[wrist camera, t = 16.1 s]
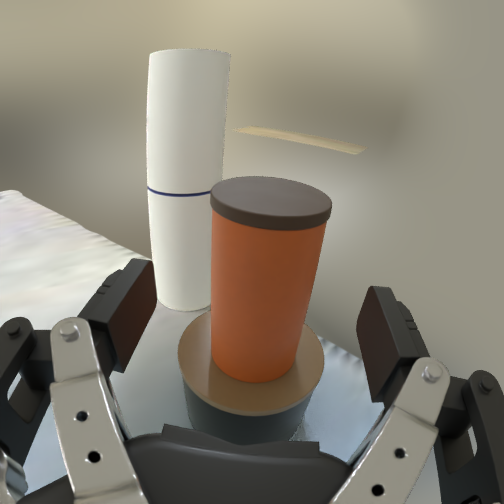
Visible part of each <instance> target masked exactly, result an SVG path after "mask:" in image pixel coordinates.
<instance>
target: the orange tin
mask: <svg viewBox="0 0 504 504" xmlns="http://www.w3.org/2000/svg"><path fill="white" fill-rule="evenodd" d="M210 204H211V207H212V235H211V353H212V357H213V360H214V362H215V363H216V365H217V366H218V367H219V368H220V369H221V370H222V371H223V372H224V373H225V374H227V375H228V376H230V377H232V378H234V379H237V380H240V381H243V382H249V383H263V382H268V381H272V380H275V379H277V378H279V377H281V376H282V375H284V374H285V373H286V372H287V371H288V370H289V369H290V368H291V366H292V365H293V362H294V359H295V356H296V352H297V348H298V345H299V341H300V337H301V333H302V329H303V325H304V321H305V317H306V313H307V309H308V304H309V301H310V297H311V293H312V288H313V284H314V280H315V275H316V270H317V266H318V262H319V257H320V252H321V247H322V243H323V238H324V233H325V228H326V223H327V220H328V219H329V217H330V214H331V209H332V201H331V199H330V198H329V197H328V196H327V195H326V194H325V193H323V192H322V191H320V190H318V189H316V188H314V187H312V186H309V185H306V184H303V183H300V182H296V181H292V180H287V179H282V178H275V177H263V176H262V177H261V176H247V177H236V178H231V179H227V180H223V181H220V182H218V183H216V184H215V185H214V186H213V187H212V189H211V191H210Z"/></svg>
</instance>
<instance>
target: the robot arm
mask: <svg viewBox="0 0 504 504" xmlns="http://www.w3.org/2000/svg"><path fill="white" fill-rule="evenodd" d="M156 304H157V289H156V281H155V272H154V264H153V262H152V261H150V260H143V259H135V258H133V259H131V260H130V262H129V263H128V264H127V265H126V267H125V268H124V269H123V270H120V269H119V270H117V271H116V272H114V273H112V274H111V275H109V276H108V277H107V278H106V280H105V281H104V282H103V283H102V286H100V287H99V289H98V290H97V291H96V293H95V294H94V295H93V296H92V298H91V299H90V300H89V301H88V303H87V304H86V305H85V307H84V308H83V309H82V311H81V312H80V313H79V315H78V316H77V317H70V318H66V319H63V320H61V321H59V322H58V323H57V324H56V325H55V326H54V327H53V328H52V330H34V329H33V327H32V325H31V323H30V321H29V320H28V319H27V318H24V317H16V318H12V319H10V320H8V321H7V322H5V323H4V324H3V325H2V327H1V328H0V504H404V503H405V502H406V500H407V498H408V496H409V495H410V493H411V491H412V489H413V487H414V485H415V483H416V481H417V479H418V478H419V475H420V473H421V471H422V469H423V467H424V465H425V463H426V461H427V459H428V456H429V454H430V452H431V450H432V447H434V453H435V458H436V464H437V470H438V477H439V485H440V493H441V502H442V504H504V395H503V392H502V390H501V387H500V385H499V383H498V381H497V380H496V378H495V377H494V376H493V375H492V374H490V373H489V372H487V371H483V370H477V371H475V372H474V373H473V374H472V375H471V376H470V378H469V379H468V380H466V379H461V378H457V377H452V376H450V374H449V371H448V369H447V368H446V367H445V365H444V364H443V363H441V362H440V361H438V360H437V359H434V358H431V357H430V355H429V353H428V351H427V348H426V346H425V344H424V341H423V339H422V337H421V335H420V332H419V331H418V330H417V326H416V324H415V322H414V319H413V317H412V315H411V313H410V311H409V310H408V309H407V308H406V306H405V305H403V304H402V302H399V301H396V299H395V296H394V294H393V292H392V290H391V288H389V287H379V286H370V287H369V289H368V291H367V294H366V297H365V300H364V302H363V305H362V308H361V311H360V314H359V316H358V320H357V326H356V332H357V337H358V340H359V344H360V349H361V353H362V358H363V362H364V367H365V371H366V376H367V380H368V385H369V390H370V395H371V400H372V403H374V402H383V403H384V407H385V408H384V409H383V410H382V412H381V413H380V415H379V417H378V418H377V420H376V421H375V423H374V424H373V426H372V428H371V429H370V431H369V432H368V434H367V435H366V437H365V438H364V440H363V441H362V443H361V444H360V446H359V447H358V448H357V450H356V451H355V452H354V454H353V455H352V456H351V457H350V459H349V460H348V461H347V462H344V461H342V460H341V459H339V458H337V457H335V456H333V455H330V454H327V453H324V452H320V451H319V442H311V441H284V440H281V441H274V442H267V443H260V444H252V445H237V444H234V443H231V442H228V441H225V440H223V439H220V438H217V437H215V436H212V435H210V434H207V433H205V432H202V431H198V430H193V429H187V428H182V427H177V426H173V425H168V424H164V426H163V430H162V433H151V434H145V435H140V436H137V437H134V438H132V436H131V434H130V432H129V430H128V428H127V425H126V423H125V421H124V418H123V415H122V413H121V410H120V407H119V405H118V402H117V399H116V396H115V393H114V390H113V387H112V384H111V381H110V379H109V377H110V375H111V373H112V371H117V372H120V373H124V371H125V369H126V367H127V365H128V363H129V361H130V359H131V357H132V354H133V352H134V350H135V348H136V346H137V344H138V342H139V340H140V338H141V336H142V334H143V332H144V330H145V328H146V326H147V324H148V322H149V320H150V318H151V316H152V314H153V312H154V310H155V308H156ZM18 372H19V374H20V375H21V379H20V381H19V383H18V384H17V386H16V388H15V390H14V392H13V393H12V395H11V397H10V399H9V401H8V398H7V393H8V389H9V387H10V386H11V384H12V382H13V380H14V379H15V377H16V375H17V374H18ZM50 402H51V403H52V409H53V415H54V420H55V425H56V430H57V435H58V439H59V443H60V448H61V452H62V456H63V459H64V463H65V467H66V470H67V473H68V474H67V475H65V476H63V477H62V478H60V479H58V480H56V481H54V482H52V483H50V484H48V485H46V486H44V487H42V488H40V489H38V490H36V491H34V492H32V493H30V494H28V495H26V496H25V493H26V492H27V490H28V484H27V482H26V478H25V473H24V470H23V465H24V463H25V460H26V457H27V455H28V452H29V450H30V447H31V445H32V443H33V440H34V438H35V435H36V433H37V431H38V428H39V426H40V424H41V422H42V419H43V417H44V415H45V413H46V411H47V409H48V406H49V404H50ZM471 426H472V427H473V431H474V434H475V438H476V442H477V452H476V455H475V456H474V454H473V450H472V446H471V441H470V437H469V434H468V429H469V428H470V427H471Z"/></svg>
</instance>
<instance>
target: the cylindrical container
mask: <svg viewBox="0 0 504 504" xmlns="http://www.w3.org/2000/svg"><path fill="white" fill-rule="evenodd" d="M230 58H231V55H230V54H229V53H226V52H221V51H217V50H208V49H170V50H162V51H157V52H154V53H151V54H150V59H149V74H148V93H147V182H148V183H147V184H148V206H149V223H150V235H151V248H152V258H153V264H154V272H155V281H156V289H157V298H158V300H159V301H160V302H161V303H162V304H163V305H164V306H166V307H168V308H170V309H173V310H177V311H195V310H199V309H203V308H205V307H207V306H209V305H210V304H211V235H212V207H211V204H210V191H211V189H212V187H213V186H214V185H215V184H216V183H218V182H220V181H222V171H223V154H224V153H223V152H224V138H225V122H226V108H227V107H226V106H227V94H228V81H229V69H230Z"/></svg>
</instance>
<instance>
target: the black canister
mask: <svg viewBox="0 0 504 504" xmlns="http://www.w3.org/2000/svg"><path fill="white" fill-rule="evenodd" d="M178 362H179V367H180V371H181V374H182V379H183V385H184V392H185V398H186V404H187V410H188V415H189V419H190V422H191V424H192V426H193V428H194V429H195V430H198V431H202V432H205V433H207V434H210V435H212V436H215V437H217V438H220V439H223V440H225V441H228V442H231V443H234V444H237V445H252V444H260V443H267V442H274V441H281V440H284V441H288V440H289V439H290V438H291V436H292V435H293V434H294V433H295V431H296V429H297V428H298V426H299V423H300V421H301V419H302V417H303V414H304V412H305V410H306V407H307V405H308V403H309V400H310V398H311V396H312V393H313V391H314V389H315V388H316V386H317V384H318V383H319V380H320V378H321V375H322V372H323V368H324V353H323V348H322V346H321V343H320V341H319V339H318V337H317V336H316V334H315V333H314V332H313V331H312V330H311V328H309V326H308V325H306V324H305V323H304V325H303V329H302V333H301V337H300V341H299V345H298V348H297V352H296V356H295V359H294V362H293V365H292V366H291V368H290V369H289V370H288V371H287V372H286V373H285V374H284V375H282V376H281V377H279V378H277V379H275V380H272V381H268V382H263V383H249V382H243V381H240V380H237V379H234V378H232V377H230V376H228V375H227V374H225V373H224V372H223V371H222V370H221V369H220V368H219V367H218V366H217V365H216V363H215V362H214V360H213V357H212V353H211V310H210V311H208V312H206V313H204V314H202V315H200V316H199V317H197V318H196V319H195V320H194V321H192V322H191V324H190V325H189V326H188V327H187V328H186V330H185V331H184V332H183V334H182V336H181V339H180V342H179V345H178Z"/></svg>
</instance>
